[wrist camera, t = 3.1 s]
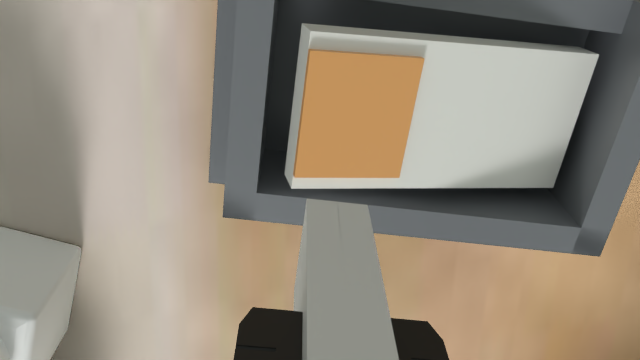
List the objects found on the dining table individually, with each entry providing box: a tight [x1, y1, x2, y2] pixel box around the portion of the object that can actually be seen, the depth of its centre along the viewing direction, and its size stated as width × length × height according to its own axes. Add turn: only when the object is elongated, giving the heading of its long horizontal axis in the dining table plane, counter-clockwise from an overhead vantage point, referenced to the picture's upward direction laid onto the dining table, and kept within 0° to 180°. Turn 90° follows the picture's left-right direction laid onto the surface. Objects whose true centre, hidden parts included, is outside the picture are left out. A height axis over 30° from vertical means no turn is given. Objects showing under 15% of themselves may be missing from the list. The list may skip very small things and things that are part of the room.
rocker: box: [285, 23, 599, 189], centre depth 26 cm, size 14×7×2 cm, turn 83°
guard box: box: [209, 0, 640, 256], centre depth 28 cm, size 22×14×7 cm, turn 83°
